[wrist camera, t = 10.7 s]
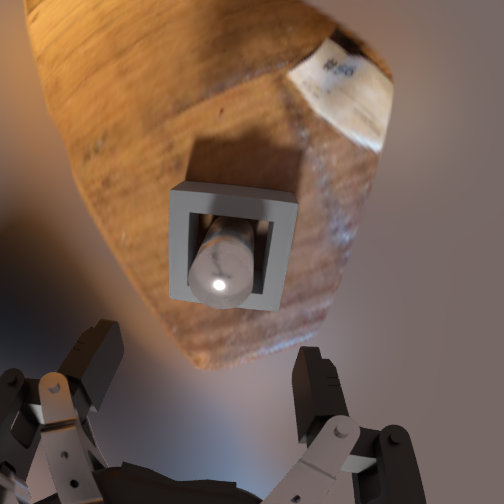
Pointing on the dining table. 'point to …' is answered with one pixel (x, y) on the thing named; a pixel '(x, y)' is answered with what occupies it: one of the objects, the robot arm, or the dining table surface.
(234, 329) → the dining table surface
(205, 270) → the peg
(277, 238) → the box
